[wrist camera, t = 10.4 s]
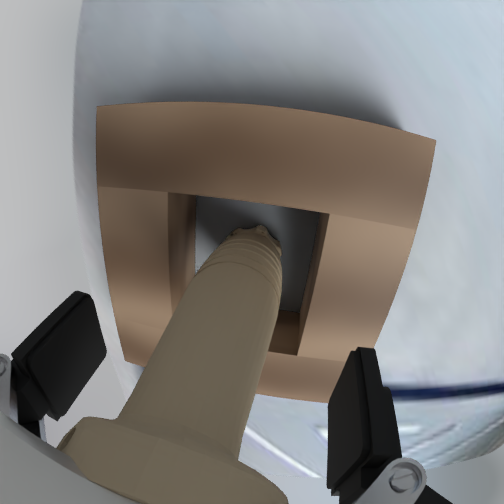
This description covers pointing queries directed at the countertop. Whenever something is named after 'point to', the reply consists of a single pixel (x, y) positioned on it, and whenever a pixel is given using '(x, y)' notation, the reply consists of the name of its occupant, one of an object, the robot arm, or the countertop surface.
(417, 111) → the countertop surface
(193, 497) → the tan flared peg
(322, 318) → the keyed socket block
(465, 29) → the countertop surface
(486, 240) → the countertop surface
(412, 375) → the countertop surface
